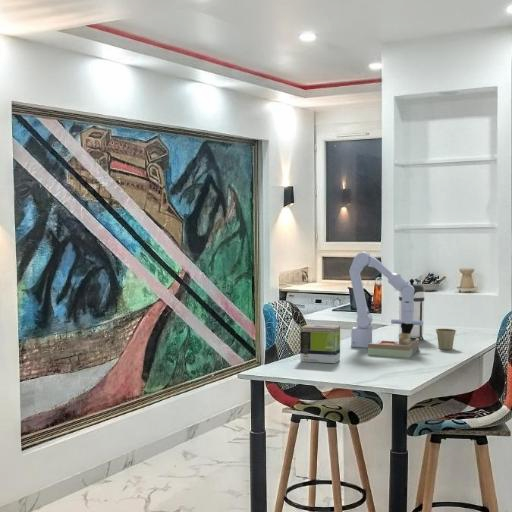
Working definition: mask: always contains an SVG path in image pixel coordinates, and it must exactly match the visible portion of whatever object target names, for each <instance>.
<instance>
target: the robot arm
mask: <svg viewBox="0 0 512 512" xmlns="http://www.w3.org/2000/svg"><path fill="white" fill-rule="evenodd" d="M365 267H369V268H370V267H371V268H374V269H375V270H377V271H378V272H379V273H381V274H382V275H383V276H384V277H386V278H387V282H388V284H389V285H391V286H392V287H393V288H394V289H395V290H396V291H398V292H399V291H400V292H401V295H402V301H401V319H399V318H396V319H393V318H392V319H391V320H390V322H391V325H399V324H401V328H402V330H403V333H411V330H412V328H413V326H414V325H422V326H423V327H424V320H423V321H418V320H414V297H413V294H414V288H413V286H412V285H411V284H410V281H406V280H405V279H404V278H403V277H402V274H400V273H397V272H391V271H390V270H389V269H388V268H387V266H385V265H384V264H383V263H382V262H381V261H380V260H379V259H377V258H376V257H375V256H373V255H371V254H370V253H369V252H367V251H362V252H359V253H357V254H356V255H355V257H354V258H353V260H352V263H351V265H350V268H349V277H350V282H351V288H352V291H353V295H354V296H353V297H354V301H355V305H356V314H357V315H356V316H357V317H356V324H357V325H356V327H355V326H353V327H352V328H351V332H350V333H351V336H350V337H351V338H350V339H351V340H350V341H351V342H350V347H355V348H365V349H366V348H367V349H368V343H373V326H372V322H373V316H372V314H371V313H370V310H369V308H368V304H367V300H366V299H367V298H366V295H365V291H364V286H363V282H362V275H361V273H362V271H363V270H364V269H365ZM413 323H414V324H413Z"/></svg>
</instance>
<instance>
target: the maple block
mask: <svg viewBox="0 0 512 512" xmlns="http://www.w3.org/2000/svg"><path fill="white" fill-rule="evenodd" d="M398 342H399V344H405V345H409V344H410V343H411V342H412V337H411V334H410V333H400V334H399V333H398Z"/></svg>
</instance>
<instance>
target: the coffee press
mask: <svg viewBox="0 0 512 512" xmlns="http://www.w3.org/2000/svg"><path fill="white" fill-rule="evenodd" d="M414 282H415V280H414V279H413V278H410V279H409V284H411V285H412V286H413V288H414V294H413V297H414V320H418V321H423V322H424V315H425V314H424V313H425V312H424V309H425V292H426V289H425V288H424V286H423V285H422V284H419V283H418V284H417V283H414ZM398 292H399V296H398V303H399V304H398V319H401V301H402V295H401V292H400V291H398ZM413 324H414V323H413ZM400 333H403V330H402V328H401V324H398V335H399V334H400ZM410 334H411V338H415V339H419V341H420V340H421V341H424V336H423V335H424V325H423V326H422V325H414V326H413V328H412V330H411V333H410Z"/></svg>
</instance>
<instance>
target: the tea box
mask: <svg viewBox="0 0 512 512" xmlns="http://www.w3.org/2000/svg"><path fill="white" fill-rule="evenodd" d="M299 330H300V333H299V335H300V340H299V341H300V342H299V343H300V345H299V346H300V348H299V351H300V355H299V356H300V358H299V360H300V362H305V363H323V364H337V363H338V362H339V361H340V360H341V326H340V325H330V324H329V325H326V324H325V325H324V324H305V325H302V326H301V327H300V329H299Z"/></svg>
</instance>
